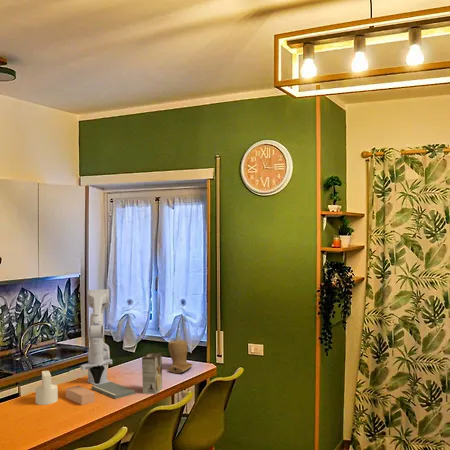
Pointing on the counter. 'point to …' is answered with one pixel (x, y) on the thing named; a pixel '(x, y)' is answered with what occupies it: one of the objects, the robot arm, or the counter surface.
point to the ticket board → (113, 390)
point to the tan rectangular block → (80, 395)
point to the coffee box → (152, 373)
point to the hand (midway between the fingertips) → (97, 383)
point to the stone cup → (178, 356)
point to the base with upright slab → (46, 390)
